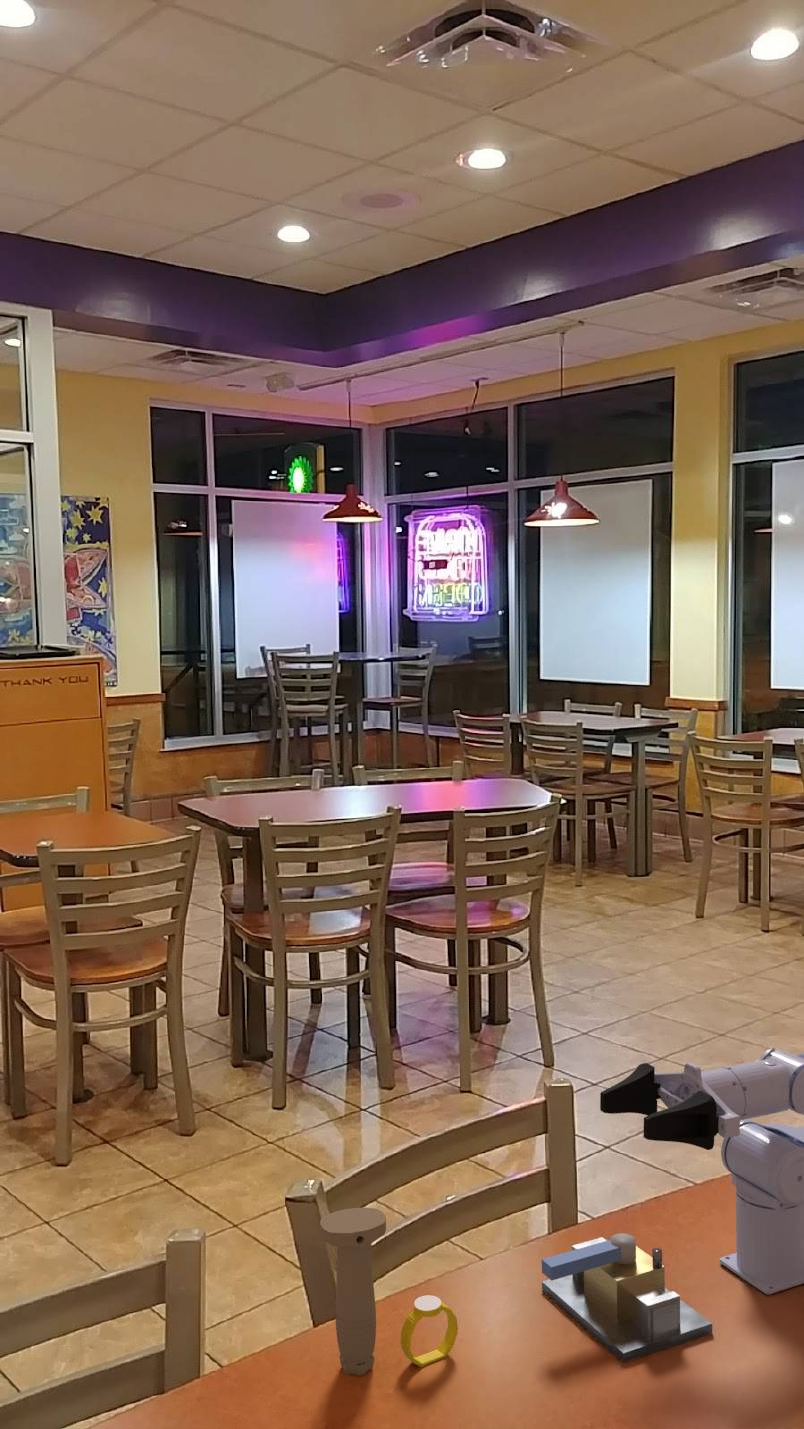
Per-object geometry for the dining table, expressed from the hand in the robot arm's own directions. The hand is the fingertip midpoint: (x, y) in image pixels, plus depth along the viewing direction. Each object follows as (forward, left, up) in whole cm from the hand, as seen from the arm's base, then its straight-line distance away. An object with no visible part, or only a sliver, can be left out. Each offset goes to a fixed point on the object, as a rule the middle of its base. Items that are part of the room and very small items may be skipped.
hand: (623, 1115), depth 126 cm
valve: (0, -1, -22) cm, 22 cm away
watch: (+22, -3, -22) cm, 31 cm away
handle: (+29, -5, -22) cm, 36 cm away
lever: (+4, -1, -16) cm, 16 cm away
